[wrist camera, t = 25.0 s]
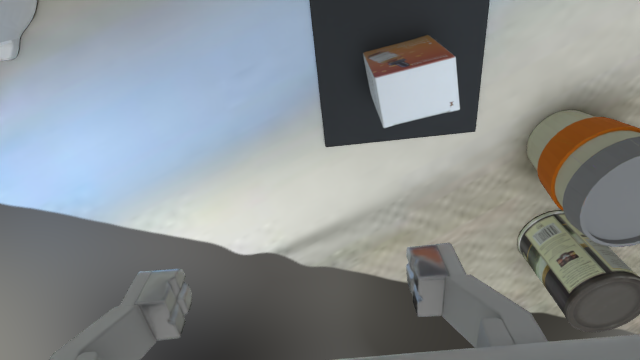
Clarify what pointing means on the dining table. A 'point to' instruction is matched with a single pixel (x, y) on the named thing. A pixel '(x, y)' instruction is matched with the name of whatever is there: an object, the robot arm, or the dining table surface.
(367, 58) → the small box
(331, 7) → the mat
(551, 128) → the reusable coffee cup
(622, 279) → the coffee can
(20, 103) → the dining table surface
